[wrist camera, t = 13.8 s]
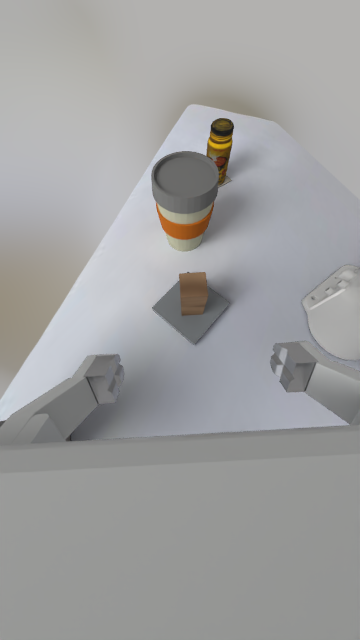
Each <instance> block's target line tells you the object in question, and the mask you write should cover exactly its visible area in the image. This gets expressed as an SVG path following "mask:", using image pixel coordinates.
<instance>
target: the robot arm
mask: <svg viewBox="0 0 360 640" xmlns="http://www.w3.org/2000/svg"><path fill="white" fill-rule="evenodd" d="M312 299H313V300H312ZM302 304H303V307H304V309H305V310H306V312H307V316H308V325H309V328H310V331H311V333H312V335H313V337H314V338H315V340H316V341H317V342H318V344H319V345H320V346H321V347H322V348H324V349H325V350H326V351H327V352H329V353H331V354H332V355H334V356H336V357H339V358H342V359H345V360H360V268H359V267H356V266H351V265H344V266H342V267H341V268H339V269H338V270H337V271H336V272H334V273H333V274H332V275H331V276H330V277H328V278H327V279H326V280H325V281H324V282H322V283H321V284H320V285H319V286H318V287H316V288H315V289H314V290H313V291H312V292H310V293H309V294H308V295H307V296H306V297H304V298H303V299H302ZM273 351H274V354H273V355H272V356H271V360H270V364H271V368H272V371H273V372H274V374H275V375H276V376H278V377H280V381H279V382H280V383H281V384H282V386H283V387H284V389H285V390H286V392H305V393H306V394H308V395H309V396H310V397H312V398H313V399H315V400H316V401H318V402H319V403H320V404H322V405H323V406H325V407H326V408H327V409H329V410H330V411H332V412H333V413H335V414H336V415H337V416H339V417H340V418H342V419H343V420H344V421H346V422H347V423H349V424H350V425H346V426H329V427H311V428H294V429H277V430H260V431H243V432H225V433H207V434H189V435H171V436H154V437H136V438H119V439H101V440H84V441H66V440H65V439H66V438H67V437H68V436H69V435H70V434H71V433H72V432H73V431H74V430H75V429H76V428H77V427H78V426H79V425H80V424H81V423H82V422H83V421H84V420H85V419H86V417H87V416H88V415H89V414H90V413H91V412H92V411H93V410H94V409H95V408H96V407H97V406H98V404H107V403H116V400H117V397H118V394H119V388H118V387H119V386H121V385H122V383H123V379H124V369H123V366H122V365H120V364H119V363H120V360H121V359H120V356H119V355H118V354H99V355H89V356H87V357H86V358H85V360H84V361H83V363H82V364H81V365H80V367H79V368H78V370H77V371H76V373H75V374H74V375H73V377H72V378H68V379H67V380H65V381H63V382H62V383H60V384H59V385H57V386H56V387H54V388H52V389H51V390H49V391H48V392H46V393H45V394H43V395H42V396H40V397H38V398H37V399H35V400H34V401H32V402H31V403H29V404H27V405H26V406H24V407H23V408H21V409H20V410H18V411H16V412H15V413H13V414H12V415H11V416H10V417H9V418H8V419H7V420H6V421H5V423H4V424H3V425H2V426H1V427H0V640H360V371H358V370H355V369H353V368H350V367H348V366H345V365H343V364H340V363H338V362H335V361H330V360H329V359H328V358H327V357H326V356H325V355H323V354H322V353H321V352H320V351H319V350H318V349H316V348H315V347H314V346H313V345H312V344H311V343H309V342H308V341H297V342H288V343H275V345H274V346H273Z"/></svg>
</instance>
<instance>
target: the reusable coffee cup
mask: <svg viewBox="0 0 360 640" xmlns="http://www.w3.org/2000/svg"><path fill="white" fill-rule="evenodd" d="M151 176H152V191H153V196H154V199H155V201H156V208H157V212H158V215H159V218H160V222H161V225H162V228H163V230H164V231H165V232H166V236H167V239H168V242H169V244H170V245H171V247H173V248H174V249H176V250H178V251H191V250H193V249H195V248H197V247H198V246H199V245H200V243H201V240H202V237H203V234H204V231H205V230H206V229H207V227H208V224H209V220H210V217H211V214H212V211H213V207H214V200H215V198H216V196H217V192H218V180H219V171H218V168H217V166H216V164H215V163H214V162H213V161H212V160H211V159H210V158H208V157H207V156H205V155H203V154H200V153H196V152H190V151H182V152H176V153H172V154H169V155H167V156H165V157H163V158H162V159H160V160H159V161H158V162H157V163H156V164H155V166H154V167H153V170H152V175H151Z"/></svg>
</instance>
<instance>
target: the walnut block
mask: <svg viewBox="0 0 360 640" xmlns="http://www.w3.org/2000/svg"><path fill="white" fill-rule="evenodd" d="M179 279H180V300H181V315H182V316H186V315H202V314H203V312H204V308H205V305H206V302H207V299H208V289H207V281H206V273H205V272H199V273H184V274H179Z"/></svg>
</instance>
